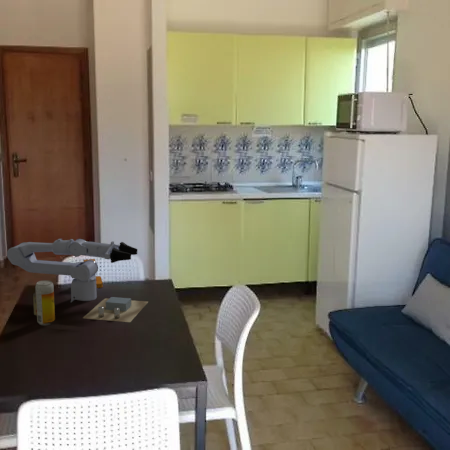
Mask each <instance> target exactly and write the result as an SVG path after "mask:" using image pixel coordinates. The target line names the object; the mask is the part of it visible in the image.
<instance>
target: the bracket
mask: <svg viewBox="0 0 450 450" xmlns="http://www.w3.org/2000/svg"><path fill="white" fill-rule="evenodd" d="M87 260H93V261H95V262H96V259H95V258H90V259H89V258H88V259H83V262H85V261H87ZM103 287H104V285H103V280H102V276H100V275H97V276H96V289H101V288H103Z"/></svg>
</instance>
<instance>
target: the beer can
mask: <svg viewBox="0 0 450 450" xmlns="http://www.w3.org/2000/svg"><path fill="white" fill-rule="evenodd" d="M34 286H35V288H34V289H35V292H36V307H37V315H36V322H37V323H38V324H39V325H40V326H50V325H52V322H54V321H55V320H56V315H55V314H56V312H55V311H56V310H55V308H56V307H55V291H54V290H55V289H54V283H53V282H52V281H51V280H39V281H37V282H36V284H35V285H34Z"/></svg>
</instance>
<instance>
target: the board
mask: <svg viewBox="0 0 450 450" xmlns="http://www.w3.org/2000/svg"><path fill="white" fill-rule="evenodd" d="M109 299H110V298H109V297H108V298H107V297H106V298H105V297H104V299H102V300H101V301H100V302H99V303H98V304H97V305H95V306H94V308H92V309H91V310H89V312H88V313H87V314H85V315H84V316H83V317H82V319H84V320H85V319H87V320H98V321H99V320H100V321H111V322H121V323H122V322H123V323H124V322H125V323H132V321H133V320H134V319H135V318H136V317H137V315H138V314H139V313H140V312H141V311H142V310H143V308H145V307H146V305H148V303H149V301H145V300H132V299H131V307H130V308H129V309H128V310H127V311H120V318H119V319H115V318H114V310H106V301H107V300H109ZM101 306H102V307H104V317H102V318H100V317H99V316H98V307H101Z"/></svg>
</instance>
